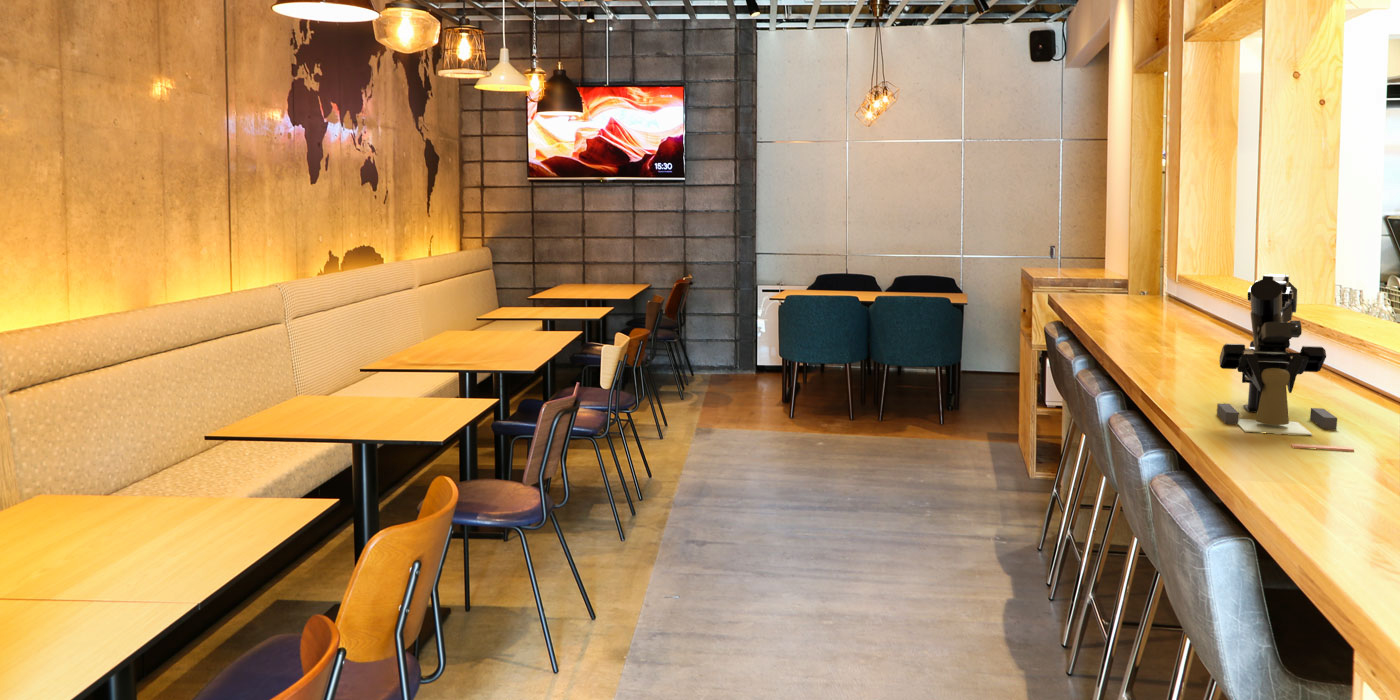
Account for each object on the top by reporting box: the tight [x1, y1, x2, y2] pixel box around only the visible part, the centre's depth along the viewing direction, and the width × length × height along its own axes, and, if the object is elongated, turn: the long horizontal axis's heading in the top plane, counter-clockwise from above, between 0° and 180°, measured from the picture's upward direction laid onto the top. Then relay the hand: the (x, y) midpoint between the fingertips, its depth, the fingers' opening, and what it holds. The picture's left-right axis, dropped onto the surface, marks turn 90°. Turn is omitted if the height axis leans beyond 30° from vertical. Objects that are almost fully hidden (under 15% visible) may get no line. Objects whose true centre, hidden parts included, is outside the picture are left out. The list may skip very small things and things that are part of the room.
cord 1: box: [1216, 403, 1240, 425], centre depth 218 cm, size 10×2×2 cm, turn 163°
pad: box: [1236, 418, 1313, 437], centre depth 210 cm, size 12×12×1 cm
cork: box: [1255, 368, 1290, 425], centre depth 209 cm, size 6×6×11 cm
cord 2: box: [1309, 407, 1338, 430], centre depth 213 cm, size 10×2×2 cm, turn 163°
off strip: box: [1290, 443, 1355, 453], centre depth 192 cm, size 2×10×1 cm, turn 73°
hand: (1275, 391), depth 207 cm, fingers closed on cork, 5 cm apart
